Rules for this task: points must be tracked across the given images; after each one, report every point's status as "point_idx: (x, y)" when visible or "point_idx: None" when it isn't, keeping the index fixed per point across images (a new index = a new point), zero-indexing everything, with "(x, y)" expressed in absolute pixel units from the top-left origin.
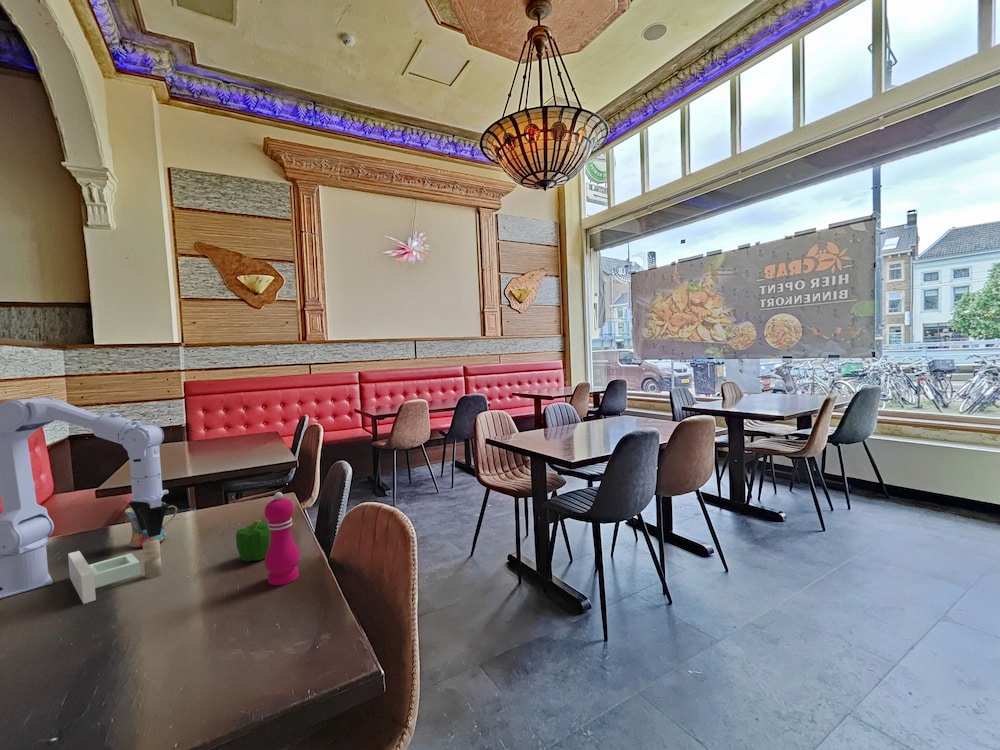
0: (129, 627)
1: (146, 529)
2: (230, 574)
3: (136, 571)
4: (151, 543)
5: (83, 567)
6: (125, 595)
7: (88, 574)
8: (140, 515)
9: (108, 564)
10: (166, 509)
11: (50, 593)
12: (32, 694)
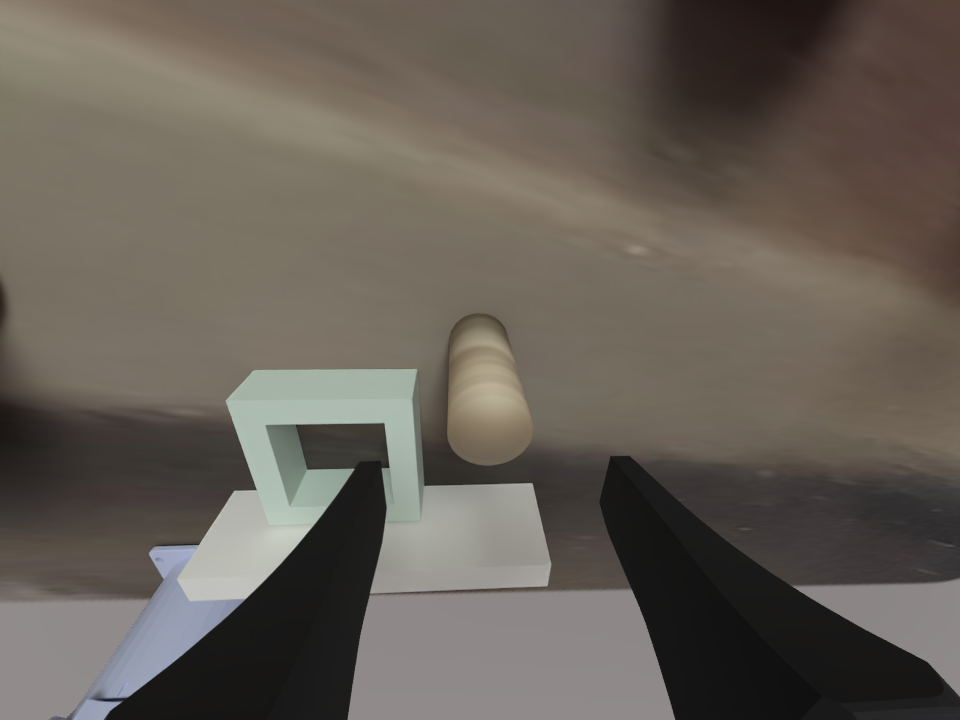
0: (816, 453)
1: (626, 562)
2: (840, 102)
3: (416, 389)
4: (515, 435)
5: (450, 578)
6: (583, 430)
7: (549, 572)
8: (356, 632)
9: (283, 461)
10: (889, 649)
11: None
12: (863, 568)
